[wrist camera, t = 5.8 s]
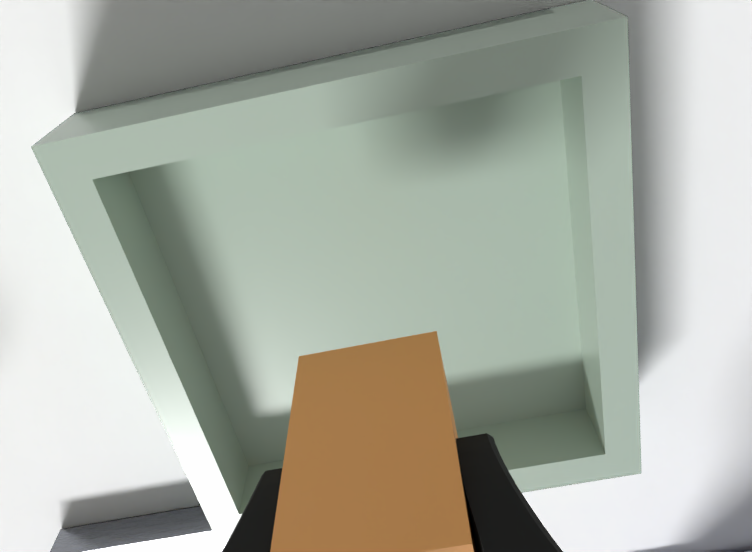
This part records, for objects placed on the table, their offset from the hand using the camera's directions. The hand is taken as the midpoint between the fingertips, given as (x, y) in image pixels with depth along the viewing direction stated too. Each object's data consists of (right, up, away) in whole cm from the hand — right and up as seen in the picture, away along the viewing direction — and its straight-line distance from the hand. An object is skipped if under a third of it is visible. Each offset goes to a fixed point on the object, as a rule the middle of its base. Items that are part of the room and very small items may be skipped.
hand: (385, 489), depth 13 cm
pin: (0, +1, +2) cm, 3 cm away
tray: (0, +4, +7) cm, 8 cm away
